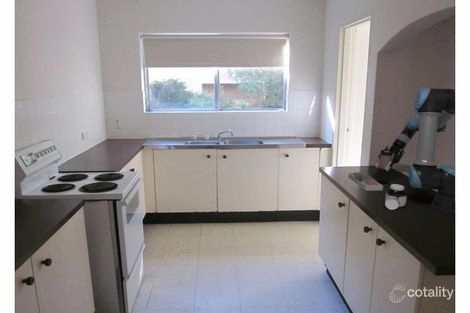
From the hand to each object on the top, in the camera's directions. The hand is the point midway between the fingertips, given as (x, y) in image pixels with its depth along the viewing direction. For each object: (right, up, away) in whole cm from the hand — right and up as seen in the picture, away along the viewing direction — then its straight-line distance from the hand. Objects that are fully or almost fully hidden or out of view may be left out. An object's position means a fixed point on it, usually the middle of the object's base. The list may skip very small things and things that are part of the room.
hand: (381, 168), depth 225 cm
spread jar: (-8, -20, -37) cm, 43 cm away
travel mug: (+3, -8, +4) cm, 9 cm away
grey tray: (-10, -10, +3) cm, 15 cm away
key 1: (-10, -7, +12) cm, 17 cm away
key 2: (-9, -11, -6) cm, 16 cm away
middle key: (-10, -8, +3) cm, 13 cm away
